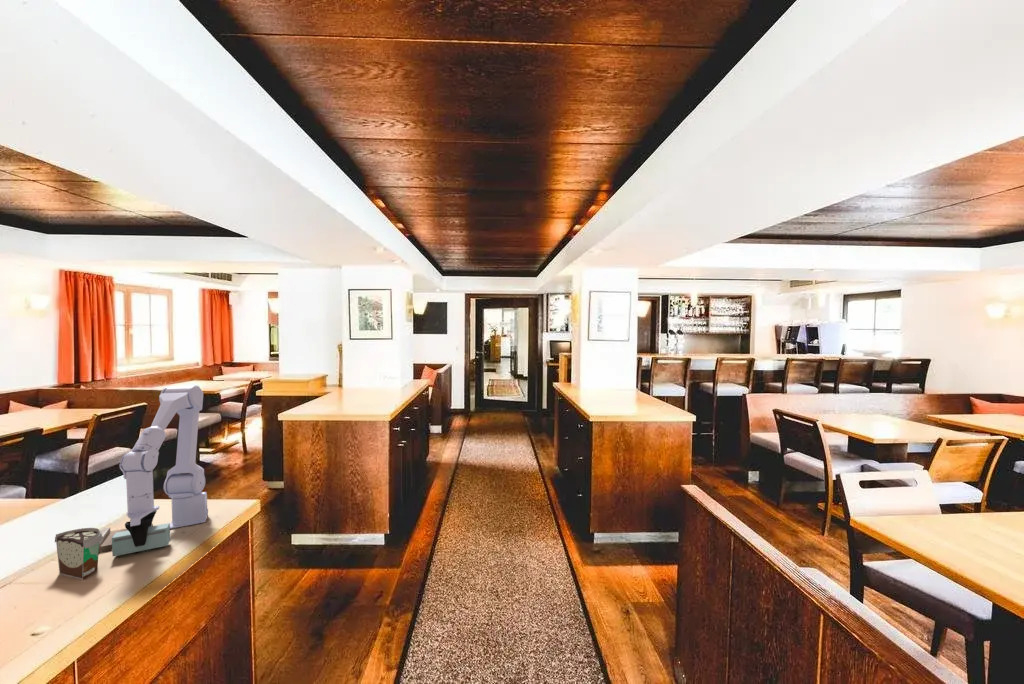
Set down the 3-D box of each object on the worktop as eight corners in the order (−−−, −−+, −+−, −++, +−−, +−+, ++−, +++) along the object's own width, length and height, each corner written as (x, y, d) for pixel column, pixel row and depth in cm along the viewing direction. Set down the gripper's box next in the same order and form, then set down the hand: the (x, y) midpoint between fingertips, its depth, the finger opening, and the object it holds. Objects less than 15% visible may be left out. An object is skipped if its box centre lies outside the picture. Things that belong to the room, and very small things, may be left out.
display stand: (153, 528, 142) (152, 518, 142) (144, 543, 131) (144, 533, 131) (98, 538, 135) (98, 528, 135) (85, 554, 125) (84, 544, 125)
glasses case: (170, 540, 131) (169, 522, 131) (167, 545, 127) (167, 528, 127) (116, 550, 125) (115, 532, 125) (112, 556, 121) (111, 538, 121)
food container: (115, 568, 117) (114, 530, 117) (86, 580, 111) (85, 540, 111) (85, 561, 121) (83, 524, 121) (55, 573, 115) (54, 534, 115)
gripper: (153, 499, 122) (155, 548, 122) (163, 483, 134) (164, 529, 135) (119, 504, 118) (121, 555, 118) (132, 488, 131) (134, 534, 131)
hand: (142, 542), depth 126 cm, fingers closed on glasses case, 4 cm apart
